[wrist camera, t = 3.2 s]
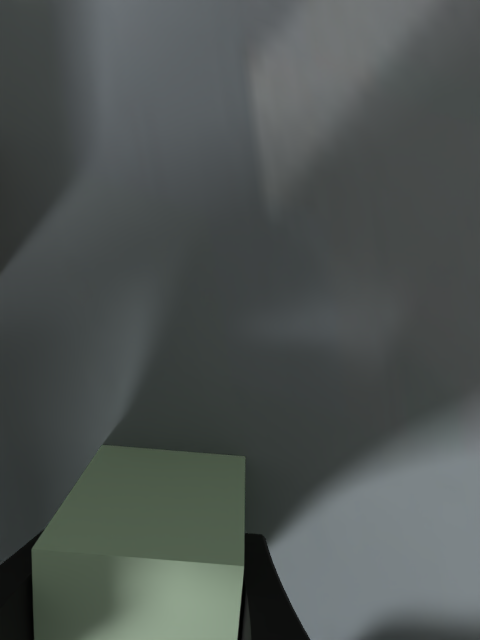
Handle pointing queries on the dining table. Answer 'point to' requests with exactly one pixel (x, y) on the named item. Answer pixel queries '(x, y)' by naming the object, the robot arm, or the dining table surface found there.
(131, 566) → the sage green block
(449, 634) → the dining table surface
